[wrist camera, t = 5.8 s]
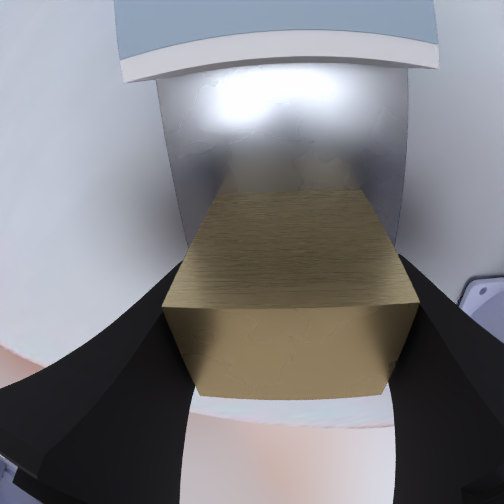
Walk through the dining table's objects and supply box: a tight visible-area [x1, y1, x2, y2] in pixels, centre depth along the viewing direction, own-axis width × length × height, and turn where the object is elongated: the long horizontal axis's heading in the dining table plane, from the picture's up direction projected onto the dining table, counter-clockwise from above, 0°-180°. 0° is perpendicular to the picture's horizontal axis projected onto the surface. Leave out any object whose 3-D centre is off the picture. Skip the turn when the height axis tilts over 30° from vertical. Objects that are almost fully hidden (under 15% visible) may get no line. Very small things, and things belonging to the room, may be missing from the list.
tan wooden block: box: [162, 190, 420, 400], centre depth 8 cm, size 5×4×6 cm
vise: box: [156, 63, 408, 248], centre depth 8 cm, size 8×18×4 cm, turn 5°
